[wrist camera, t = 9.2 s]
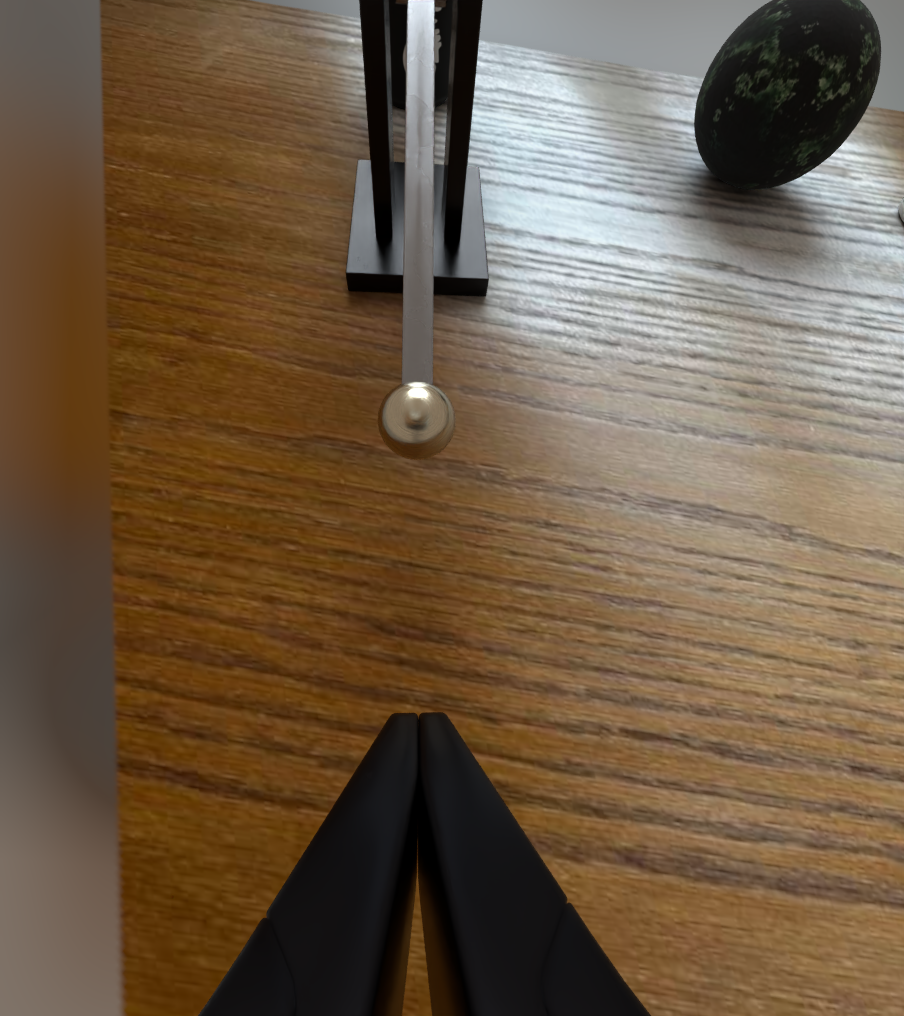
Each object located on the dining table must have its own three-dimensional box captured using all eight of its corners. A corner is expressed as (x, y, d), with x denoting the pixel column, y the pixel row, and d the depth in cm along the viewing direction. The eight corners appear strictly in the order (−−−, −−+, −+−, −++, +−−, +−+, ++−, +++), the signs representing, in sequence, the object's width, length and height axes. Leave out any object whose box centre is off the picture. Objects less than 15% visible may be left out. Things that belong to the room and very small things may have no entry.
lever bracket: (486, 296, 29) (543, -63, 16) (347, 290, 29) (296, -87, 16) (477, 185, 34) (515, -157, 21) (359, 178, 34) (327, -178, 21)
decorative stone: (827, 219, 35) (967, 36, 26) (697, 222, 34) (797, 30, 25) (768, 140, 40) (871, -39, 31) (651, 140, 38) (722, -47, 30)
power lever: (452, 467, 19) (458, 450, 16) (379, 466, 19) (373, 449, 16) (453, -42, 22) (459, -131, 19) (389, -48, 22) (385, -138, 19)
